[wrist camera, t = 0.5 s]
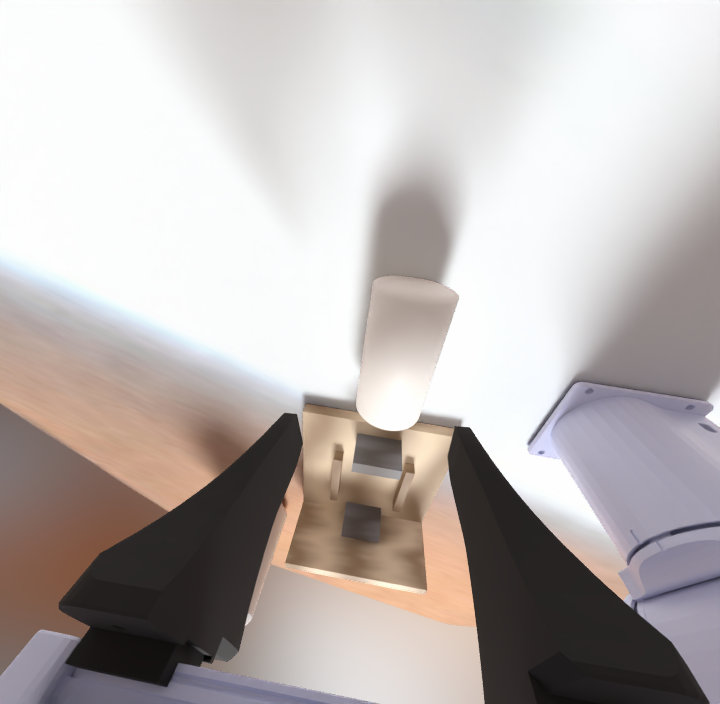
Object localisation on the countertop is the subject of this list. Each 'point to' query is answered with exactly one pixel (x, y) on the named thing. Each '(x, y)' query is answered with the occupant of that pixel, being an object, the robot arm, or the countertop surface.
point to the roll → (402, 348)
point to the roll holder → (366, 498)
